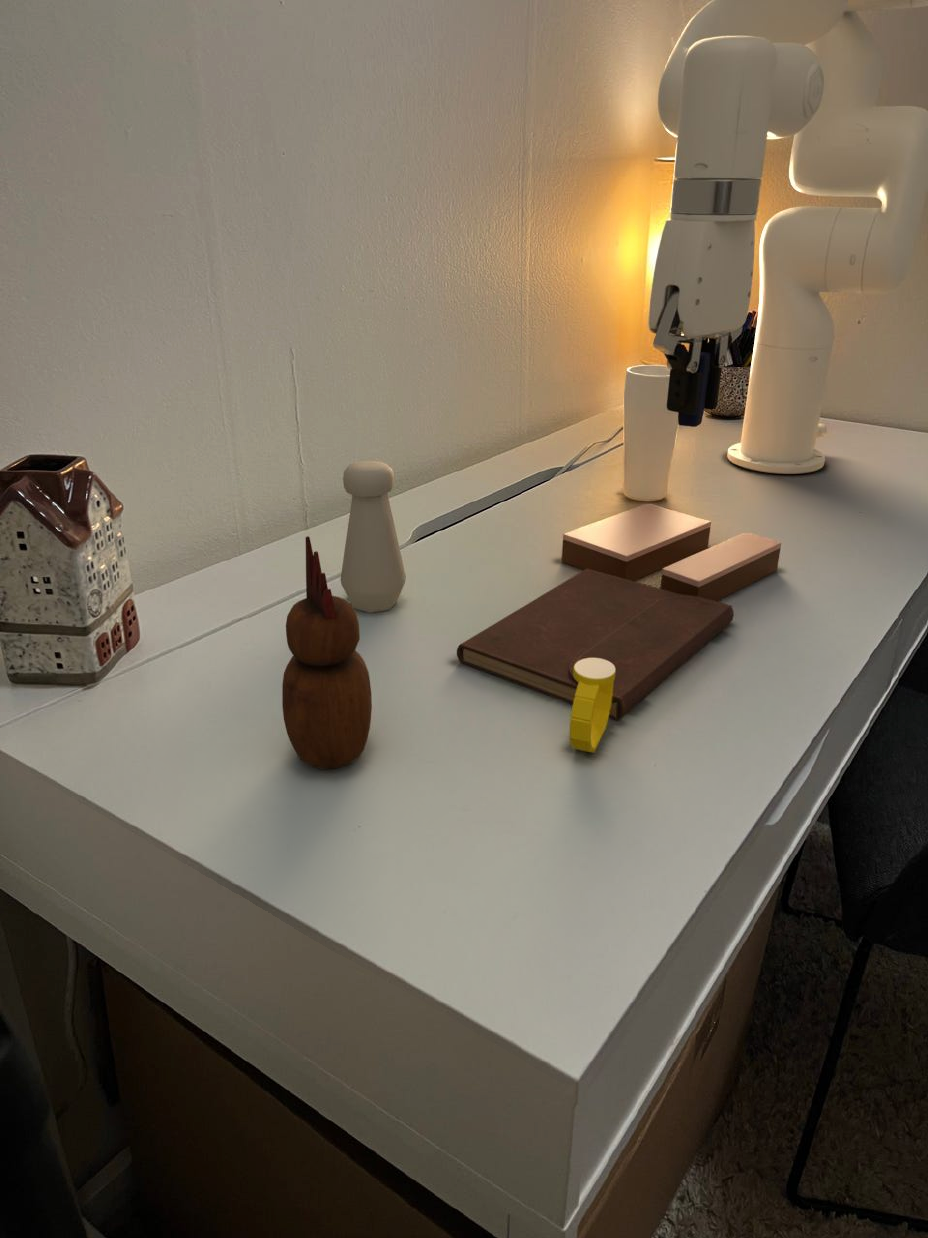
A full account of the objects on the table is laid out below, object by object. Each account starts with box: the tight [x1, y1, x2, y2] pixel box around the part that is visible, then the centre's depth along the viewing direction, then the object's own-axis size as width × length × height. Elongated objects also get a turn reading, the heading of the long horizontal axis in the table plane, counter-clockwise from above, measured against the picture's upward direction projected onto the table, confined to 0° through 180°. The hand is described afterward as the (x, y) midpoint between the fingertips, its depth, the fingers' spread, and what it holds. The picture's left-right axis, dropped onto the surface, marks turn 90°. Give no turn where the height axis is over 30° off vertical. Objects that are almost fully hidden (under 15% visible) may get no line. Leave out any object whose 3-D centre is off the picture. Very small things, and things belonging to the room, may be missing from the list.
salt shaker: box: [340, 460, 407, 614], centre depth 81 cm, size 6×6×13 cm
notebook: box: [456, 569, 734, 722], centre depth 77 cm, size 15×20×2 cm
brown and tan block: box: [561, 502, 712, 582], centre depth 94 cm, size 14×8×3 cm, turn 133°
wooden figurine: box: [281, 536, 373, 770], centre depth 59 cm, size 7×6×15 cm
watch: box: [568, 658, 616, 754], centre depth 63 cm, size 6×3×6 cm, turn 157°
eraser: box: [678, 352, 710, 428], centre depth 89 cm, size 2×2×7 cm
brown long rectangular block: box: [659, 531, 782, 602], centre depth 88 cm, size 14×4×3 cm, turn 133°
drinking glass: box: [622, 364, 680, 503], centre depth 109 cm, size 7×7×15 cm
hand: (691, 407), depth 90 cm, fingers closed on eraser, 2 cm apart
